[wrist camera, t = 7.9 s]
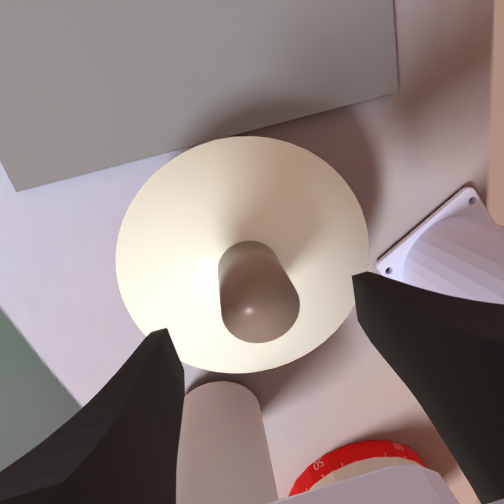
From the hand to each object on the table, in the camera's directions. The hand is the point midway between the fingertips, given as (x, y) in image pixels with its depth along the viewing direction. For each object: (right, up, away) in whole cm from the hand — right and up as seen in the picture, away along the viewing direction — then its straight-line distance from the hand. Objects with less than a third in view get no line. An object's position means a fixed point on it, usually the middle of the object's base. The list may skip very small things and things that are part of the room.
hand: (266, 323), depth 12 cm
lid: (-1, +2, +5) cm, 6 cm away
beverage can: (-3, -9, +13) cm, 17 cm away
